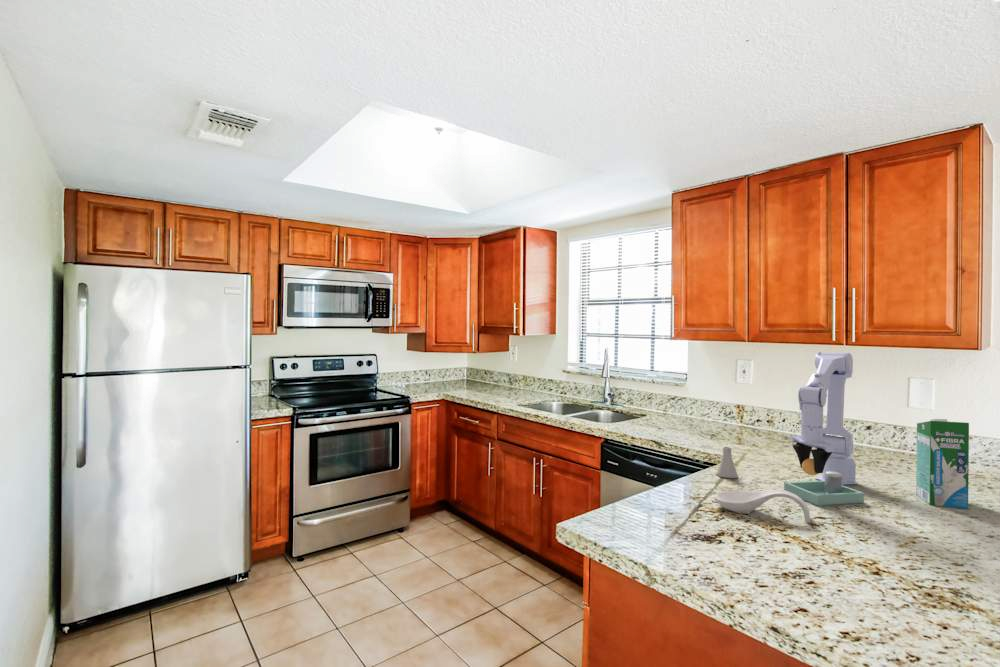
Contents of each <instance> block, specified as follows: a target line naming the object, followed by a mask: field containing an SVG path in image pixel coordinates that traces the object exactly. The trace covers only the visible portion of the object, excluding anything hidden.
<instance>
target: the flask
mask: <svg viewBox="0 0 1000 667" xmlns="http://www.w3.org/2000/svg"><path fill="white" fill-rule="evenodd" d="M721 450H723V453H722V458H721V461H720V463H719V466H718V468H717V471H716V476H718V477H720V478H725V479H726V478H727V479H737V478H739V475H738V472H737V469H736V466H735V464H734V461H733V457H732V450H733V447H730V446H722V449H721Z"/></svg>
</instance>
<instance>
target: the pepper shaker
mask: <svg viewBox="0 0 1000 667" xmlns="http://www.w3.org/2000/svg"><path fill="white" fill-rule="evenodd" d="M833 493H842V477H841V473H838V472H834V471H826V474H825V493H824V494H833Z"/></svg>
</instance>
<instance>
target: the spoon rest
mask: <svg viewBox="0 0 1000 667" xmlns="http://www.w3.org/2000/svg"><path fill="white" fill-rule="evenodd" d="M777 497H778V498H779V497H783V498H784V497H785V498H787V499H790V500H792V501H793V502H795V503H796V504H798V505H799V507H800V508H801V509H802V510H801V511H802V513H803V516H804V517H803V518H804V521H805V523H808V524H810V523H811V516H810V515H811V514H810V510H809V507H808V505H807V502H806V501H804V500H802V499H801V498H800V497H799V496H797V495H795V494H793V493H791V492H789V491H785V490H784V489H765V490H764V489H763V490H752V491H751V490H749V491H748V490H746V491H745V490H724V491H720V492H718V493H716V494H715V495H714V499H715V500H716V502H717V503H718V504H719V505H720V506H721V507H722V508H724V509H726V510H728V511H730V510H731V511H730V512H732V511H735V512H734V513H737V512H742V513H741V514H749V513H748V512H750V513H751V512H753V511H754V510H756V509H757V508H759V507H760V506H762V505H763V504H764V503H766V502H768V501H770V500H771V499H774V498H777Z"/></svg>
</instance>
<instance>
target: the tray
mask: <svg viewBox="0 0 1000 667" xmlns="http://www.w3.org/2000/svg"><path fill="white" fill-rule="evenodd" d="M783 486H784V487H783V490H785V491H789V492H791V493H793V494H795V495H797V496H799V497H800V498H801V499H802V500H803V501H804V502H806V503H809V504H811V505H814V506H816V507H822V506H836V505H854V504H864V503H865V492H862V491H859V490H857V489H854V488H851V487H848V486H846V485H842V493H833V494H824V493H825V480H822V481H821V480H809V481H808V480H807V481H805V480H804V481H787V482H783Z"/></svg>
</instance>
